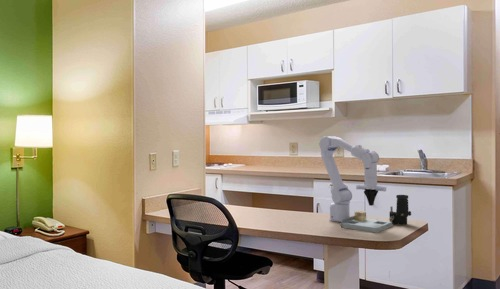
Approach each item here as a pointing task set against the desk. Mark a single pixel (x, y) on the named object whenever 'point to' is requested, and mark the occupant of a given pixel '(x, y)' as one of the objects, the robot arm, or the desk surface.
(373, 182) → the robot arm
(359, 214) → the block
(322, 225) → the desk surface
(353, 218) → the board
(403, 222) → the scope
